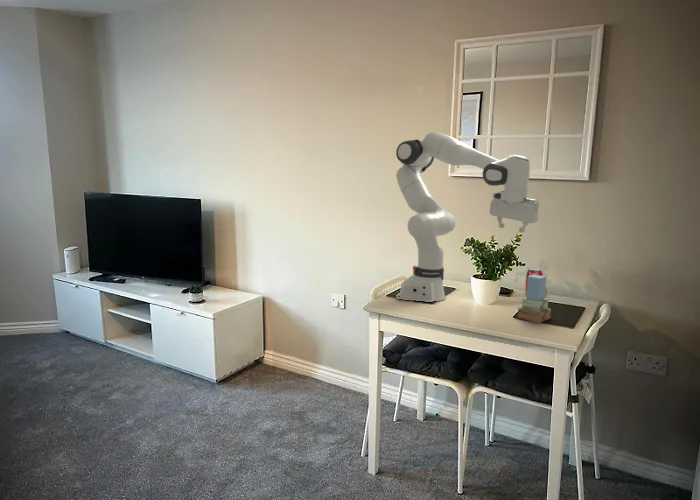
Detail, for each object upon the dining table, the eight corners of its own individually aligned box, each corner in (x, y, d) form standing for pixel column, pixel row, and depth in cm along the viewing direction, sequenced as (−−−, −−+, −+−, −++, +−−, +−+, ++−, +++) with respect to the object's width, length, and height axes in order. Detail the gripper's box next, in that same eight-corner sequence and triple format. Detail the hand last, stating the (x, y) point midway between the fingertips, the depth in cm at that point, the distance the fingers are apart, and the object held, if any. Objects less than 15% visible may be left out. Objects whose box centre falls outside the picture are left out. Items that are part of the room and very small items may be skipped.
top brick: (538, 301, 193) (539, 278, 191) (526, 298, 197) (527, 276, 195) (544, 298, 196) (546, 276, 195) (532, 296, 200) (534, 274, 198)
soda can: (543, 295, 230) (545, 270, 228) (528, 296, 229) (530, 270, 227) (537, 291, 237) (538, 267, 234) (522, 292, 236) (524, 267, 234)
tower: (539, 323, 192) (540, 303, 190) (517, 317, 198) (519, 298, 197) (550, 318, 198) (552, 299, 196) (529, 313, 204) (530, 294, 203)
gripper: (543, 199, 194) (538, 233, 198) (497, 192, 209) (494, 224, 213) (534, 201, 190) (530, 236, 194) (489, 193, 205) (485, 226, 209)
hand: (511, 229), depth 203 cm, fingers open, 8 cm apart
